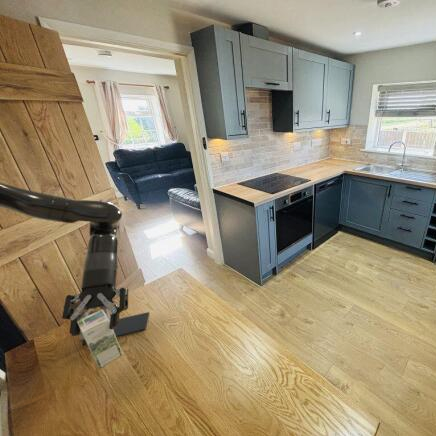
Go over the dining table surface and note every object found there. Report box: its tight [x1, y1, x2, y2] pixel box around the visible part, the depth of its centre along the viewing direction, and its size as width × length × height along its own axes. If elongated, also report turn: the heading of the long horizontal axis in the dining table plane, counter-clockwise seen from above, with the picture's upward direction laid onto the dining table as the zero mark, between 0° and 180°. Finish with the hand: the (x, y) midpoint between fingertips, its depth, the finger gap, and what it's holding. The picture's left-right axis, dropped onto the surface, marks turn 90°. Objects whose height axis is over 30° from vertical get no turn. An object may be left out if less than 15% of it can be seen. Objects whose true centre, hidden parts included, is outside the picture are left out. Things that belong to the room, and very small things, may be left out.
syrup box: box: [77, 310, 123, 370], centre depth 65 cm, size 6×6×14 cm
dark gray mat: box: [81, 311, 150, 346], centre depth 92 cm, size 20×9×1 cm, turn 111°
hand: (94, 332), depth 62 cm, fingers closed on syrup box, 8 cm apart
